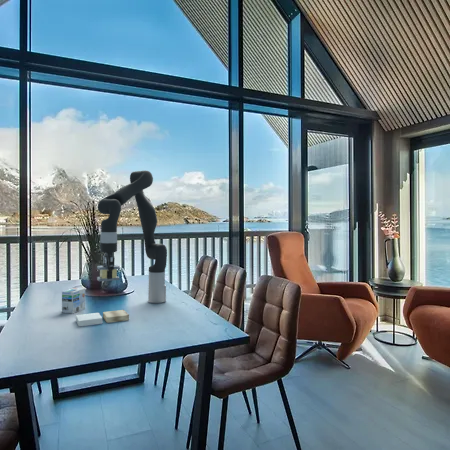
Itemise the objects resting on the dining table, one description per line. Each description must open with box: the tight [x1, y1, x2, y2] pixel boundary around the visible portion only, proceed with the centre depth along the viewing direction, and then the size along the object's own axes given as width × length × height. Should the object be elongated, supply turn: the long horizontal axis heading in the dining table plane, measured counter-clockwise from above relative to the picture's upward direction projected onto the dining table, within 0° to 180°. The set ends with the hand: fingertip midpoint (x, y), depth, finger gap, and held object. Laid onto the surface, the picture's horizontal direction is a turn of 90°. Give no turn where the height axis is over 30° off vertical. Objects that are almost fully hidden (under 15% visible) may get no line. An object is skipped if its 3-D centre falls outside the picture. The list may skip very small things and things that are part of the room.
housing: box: [96, 264, 121, 282], centre depth 166 cm, size 9×6×6 cm, turn 120°
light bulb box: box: [61, 287, 86, 314], centre depth 182 cm, size 11×7×11 cm, turn 168°
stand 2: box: [102, 309, 130, 324], centre depth 169 cm, size 10×10×2 cm
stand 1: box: [75, 312, 103, 327], centre depth 163 cm, size 10×10×2 cm
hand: (108, 277), depth 166 cm, fingers closed on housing, 5 cm apart
